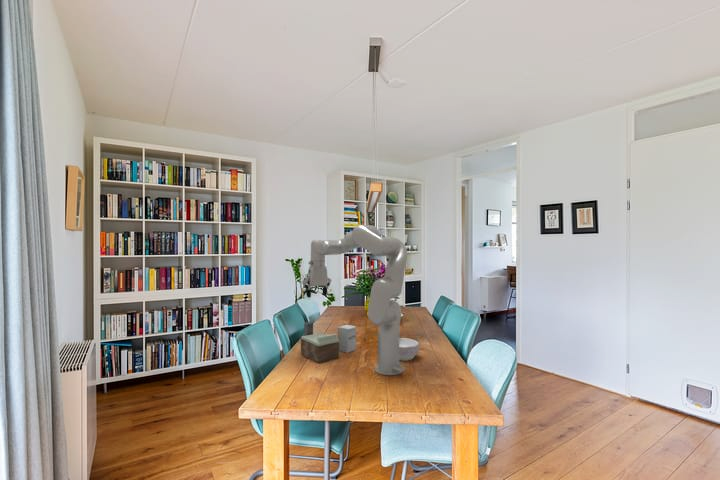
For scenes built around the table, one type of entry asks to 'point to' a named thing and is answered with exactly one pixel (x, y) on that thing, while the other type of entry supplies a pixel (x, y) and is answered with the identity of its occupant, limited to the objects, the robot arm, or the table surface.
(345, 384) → the table surface
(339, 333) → the supplement box
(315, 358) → the box
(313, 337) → the lid
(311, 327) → the dark grey tall block
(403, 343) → the paper bowls
